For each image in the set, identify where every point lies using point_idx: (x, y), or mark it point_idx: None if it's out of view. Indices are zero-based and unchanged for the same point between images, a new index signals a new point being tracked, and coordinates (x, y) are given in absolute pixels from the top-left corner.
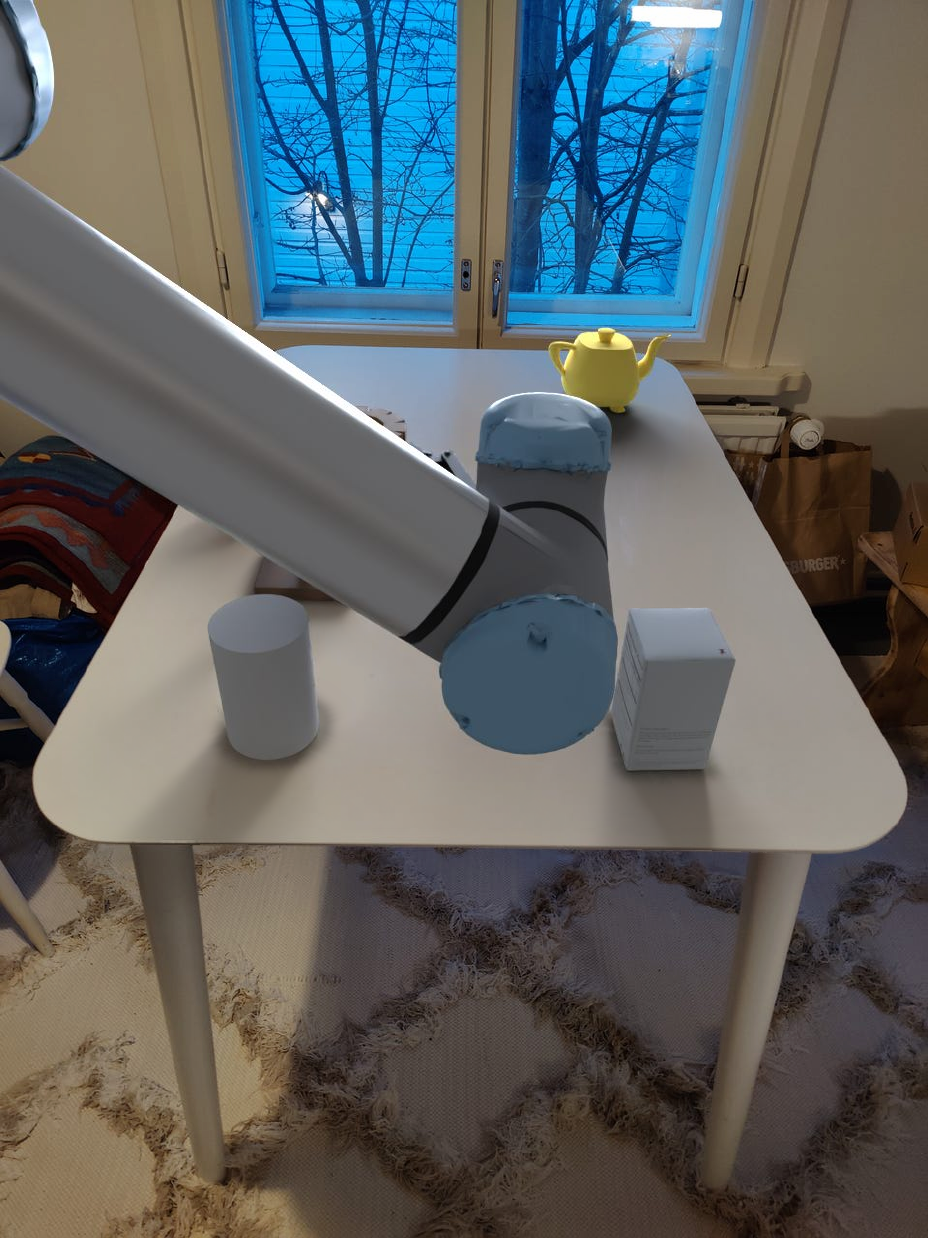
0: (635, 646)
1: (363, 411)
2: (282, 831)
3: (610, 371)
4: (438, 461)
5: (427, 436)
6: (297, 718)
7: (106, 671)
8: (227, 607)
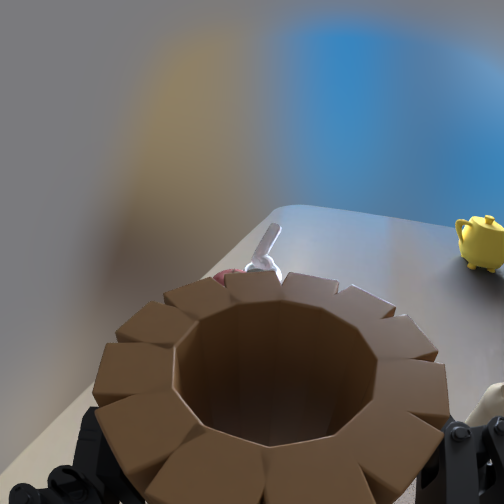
0: None
1: (321, 297)
2: None
3: (494, 244)
4: (478, 453)
5: (372, 274)
6: None
7: (22, 460)
8: None
